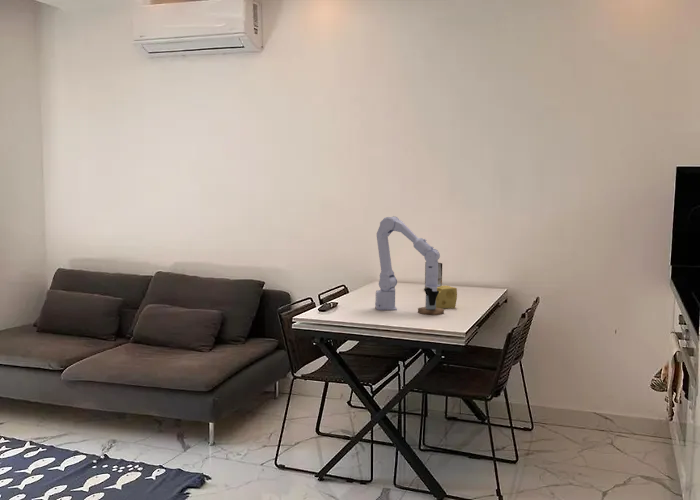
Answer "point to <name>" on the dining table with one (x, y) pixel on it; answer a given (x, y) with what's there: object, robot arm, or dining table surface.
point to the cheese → (446, 297)
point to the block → (429, 304)
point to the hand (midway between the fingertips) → (431, 304)
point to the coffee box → (438, 274)
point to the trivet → (430, 311)
